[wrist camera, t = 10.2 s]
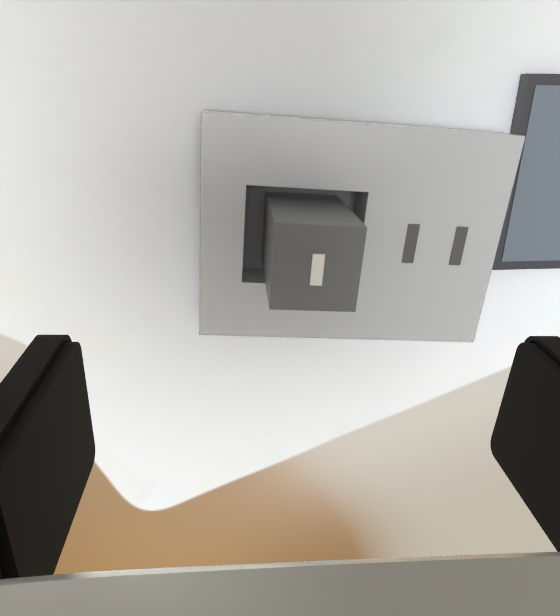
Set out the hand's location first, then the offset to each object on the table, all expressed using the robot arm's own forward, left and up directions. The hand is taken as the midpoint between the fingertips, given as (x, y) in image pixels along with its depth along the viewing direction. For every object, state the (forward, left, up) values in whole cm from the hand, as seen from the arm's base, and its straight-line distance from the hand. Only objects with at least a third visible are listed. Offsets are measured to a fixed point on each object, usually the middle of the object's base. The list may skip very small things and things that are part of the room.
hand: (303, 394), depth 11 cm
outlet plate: (+2, +6, -22) cm, 23 cm away
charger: (+2, +3, -22) cm, 22 cm away
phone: (-2, +19, -23) cm, 30 cm away
